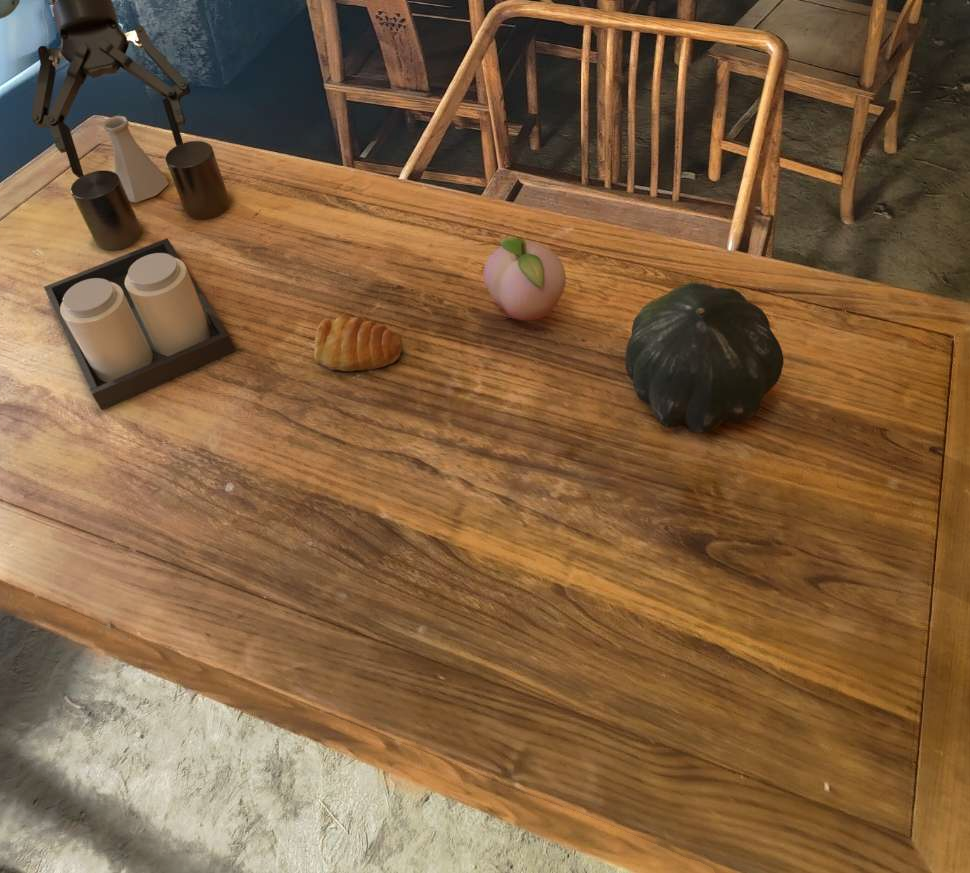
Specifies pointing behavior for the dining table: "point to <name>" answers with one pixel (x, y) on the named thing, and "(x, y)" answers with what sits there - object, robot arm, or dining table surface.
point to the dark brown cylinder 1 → (106, 210)
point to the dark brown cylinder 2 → (198, 180)
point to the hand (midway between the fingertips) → (130, 162)
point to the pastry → (355, 344)
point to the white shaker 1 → (105, 328)
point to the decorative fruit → (524, 278)
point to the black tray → (161, 365)
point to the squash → (702, 357)
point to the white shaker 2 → (167, 303)
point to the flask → (133, 163)
